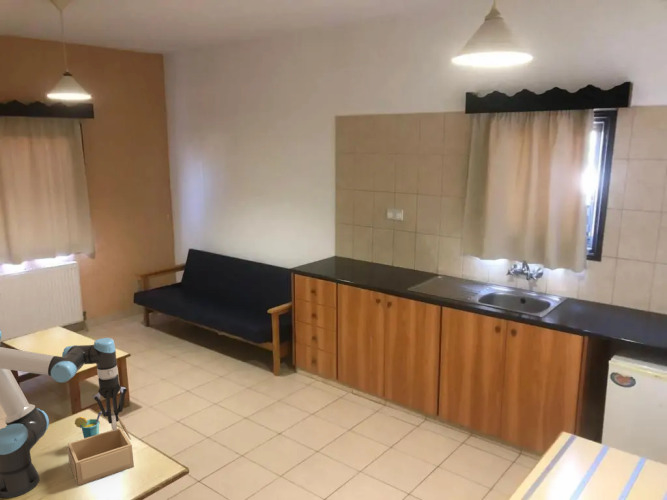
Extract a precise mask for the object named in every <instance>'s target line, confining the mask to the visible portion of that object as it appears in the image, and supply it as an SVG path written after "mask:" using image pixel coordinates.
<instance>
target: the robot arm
mask: <svg viewBox="0 0 667 500" xmlns="http://www.w3.org/2000/svg"><path fill="white" fill-rule="evenodd" d="M2 336H3V335H2V331H1V329H0V341H1V339H2ZM116 350H117V349H116V344H115V341H114V339H113V338H111V337H103V338H98V339H96V340H95V341H94V343H93V344H88V345H87V344H85V345H83V344H82V345H71V346H65V347H64V349H63V351H62V354H61V355H62V356H58V355H52V354H45V353H38V352H33V351H27V350H20V349H14V348H8V347H3V345H2V343H1V342H0V406H1V408H2V410H3V412H4V414H5V415H6V417H5V420H4V423H5V424H6V426H5V427H1V428H0V499H10V498H12V499H13V498H15V497H19V496H22V495H25V494H27V493H28V492H30V491H32V490H33V489H35V488H36V486H38V484H39V483H40V476H39V472H38V471H37V468H36V467H35V466H34V464H33V462H32V456H31V449H32V448H33V447H35V445H36V444H37V443H38V442H39V441H40V439H41V438H42V437H44V435H45V433H46V431H48V428H49V425H50V420H49V416H48V414H47V413H46V412H45V411H44V410H41V409H40V408H38V407H36V405H35V404H31V403H29V401H28V399H27V398H26V396H25V394H24V392H23V391H22V389H21V387H20V385H19V384H18V382H17V379H16V378H15V375H14V374H13V373H12V371H17V372H23V373H29V374H35V375H36V374H37V375H43V376H49V377H51V378H52V379H53V380H54V381H56V382H57V383H66V382H68V381H70V380H71V379H72V378H73V377H74V376H75V375H76V374H77V373H78V372H79V370H81V368H82V367H83V366H84V365H96V370H97V377H98V392H97V393H96V394H94V395H93V396H92V397H93V399H94V400H95V401H96V402H97V405H98V406H99V407H98V408H99V409H100V412H102V414H101V415H102V416H103V417H104V418H107V422H108V424H110V425H111V430H113V431H116V430H117V428H118V426H117V422H119V418H118V415H119V414H120V413H123V410H124V403H125V396H126V393H127V390H128V389H127V388H126V387H125V386H121V384H120V380H119V379H120V378H119V371H118V362H117V354H116V353H117V352H116ZM119 392H120V394H119ZM117 395H119V400H118V399H117ZM101 396H102V398H103V399H105V406H106V407H105V408H106V410H105V408H104V406H103V403H102V401H101ZM111 401H112V406H113V407H112V408H113V410H112V409H111ZM112 411H113V412H112Z"/></svg>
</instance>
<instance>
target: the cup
mask: <svg viewBox="0 0 667 500" xmlns="http://www.w3.org/2000/svg"><path fill="white" fill-rule="evenodd" d="M101 415H103V414H102V412H101V411H100V412H99V413H98V414H97V418H90V419H86V418H85V417H82V416H79V417H77V418H75V420H74V424H75V425H76V426H75V427H76V428H80V429H81V431H82V435H83V439H84V438H88V437H91V436H94V435H97V434H100V423H101V422H100V421H99V419H100V417H101Z"/></svg>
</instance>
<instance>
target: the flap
mask: <svg viewBox="0 0 667 500" xmlns="http://www.w3.org/2000/svg"><path fill="white" fill-rule="evenodd" d="M118 418H119V421H118V422H119V424H120V427H121V428H122V430H123V431H124V433H125V435H126V436H127V438H128V440H129V441H131V440H132V439H131V437H130V434H129V432H128V429H127V428H126V425H125V424H124V422H123V420H122V418H121V417H120V415H119V414H118Z"/></svg>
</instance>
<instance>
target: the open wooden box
mask: <svg viewBox="0 0 667 500" xmlns="http://www.w3.org/2000/svg"><path fill="white" fill-rule="evenodd" d="M66 448H67V456H68V457H67V458H68V463H69V467H70V468H71V471H72V474H73V477H74V479H75V481H76V483H77V485H78V487H80V486H83V485H86V484H89V483H92V482H94V481H97V480H101V479H103V478H106V477H109V476H113V475H116V474H118V473H120V472H123V471H126V470H129V469H132V468H134V467H135V465H134V455H133V445H132V443H131V440H130V439H129V438H128V436H127V434H126V433H125V431H124V429H123V428H122V427H117V430H116V431H113V430H112V429H111V430H107V431H105V432H102V433H99V434H97V435H94V436H91V437H88V438H84V437H83V438H81V439H77V440H76V441H72V442H71V441H70V442H68V443H67V446H66Z"/></svg>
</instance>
